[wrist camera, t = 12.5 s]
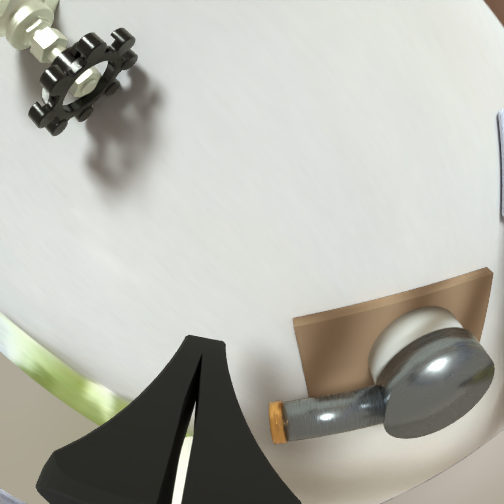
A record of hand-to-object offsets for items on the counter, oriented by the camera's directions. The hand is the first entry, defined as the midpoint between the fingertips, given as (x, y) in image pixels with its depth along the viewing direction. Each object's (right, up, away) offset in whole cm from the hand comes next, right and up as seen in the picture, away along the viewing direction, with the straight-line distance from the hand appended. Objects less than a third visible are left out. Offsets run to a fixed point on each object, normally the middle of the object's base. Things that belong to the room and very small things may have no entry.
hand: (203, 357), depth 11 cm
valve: (-10, +17, +3) cm, 20 cm away
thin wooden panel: (+14, -5, +12) cm, 19 cm away
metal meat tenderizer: (+11, -6, +8) cm, 15 cm away
